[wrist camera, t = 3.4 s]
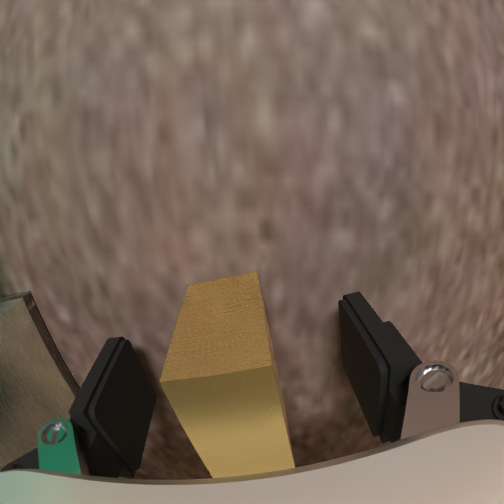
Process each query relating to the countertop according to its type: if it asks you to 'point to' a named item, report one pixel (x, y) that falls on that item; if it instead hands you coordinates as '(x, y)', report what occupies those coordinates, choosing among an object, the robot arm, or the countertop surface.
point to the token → (228, 379)
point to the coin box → (29, 378)
